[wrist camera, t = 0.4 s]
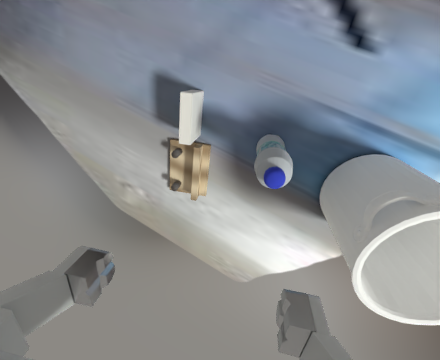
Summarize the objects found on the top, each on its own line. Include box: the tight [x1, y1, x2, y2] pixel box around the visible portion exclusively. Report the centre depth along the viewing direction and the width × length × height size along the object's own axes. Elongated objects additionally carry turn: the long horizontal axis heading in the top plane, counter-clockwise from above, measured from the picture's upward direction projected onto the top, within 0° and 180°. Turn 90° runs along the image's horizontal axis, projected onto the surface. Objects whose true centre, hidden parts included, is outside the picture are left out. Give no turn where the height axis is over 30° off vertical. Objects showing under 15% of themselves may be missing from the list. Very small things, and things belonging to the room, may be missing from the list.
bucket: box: [320, 154, 440, 325], centre depth 42 cm, size 26×22×24 cm
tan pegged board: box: [170, 139, 211, 200], centre depth 56 cm, size 14×10×4 cm
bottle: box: [254, 134, 293, 189], centre depth 43 cm, size 7×7×20 cm
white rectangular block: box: [179, 90, 204, 145], centre depth 47 cm, size 10×2×9 cm, turn 174°
